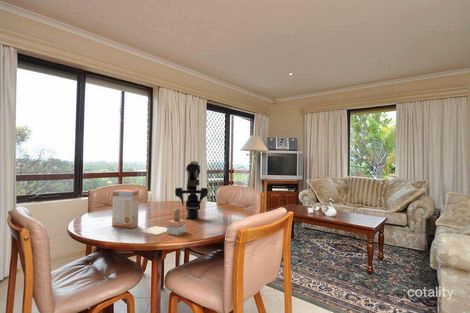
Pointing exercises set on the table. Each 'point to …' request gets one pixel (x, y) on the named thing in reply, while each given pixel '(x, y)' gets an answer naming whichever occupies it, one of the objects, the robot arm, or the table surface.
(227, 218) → the table surface
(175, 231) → the grey rock
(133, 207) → the cracker box
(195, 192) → the robot arm
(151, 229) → the cream mat
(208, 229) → the table surface
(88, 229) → the table surface
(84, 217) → the table surface
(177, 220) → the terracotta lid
